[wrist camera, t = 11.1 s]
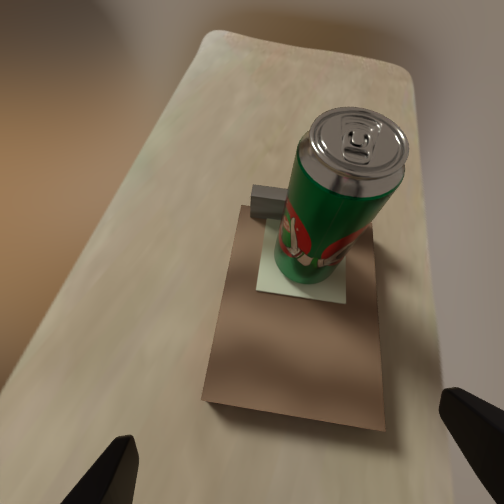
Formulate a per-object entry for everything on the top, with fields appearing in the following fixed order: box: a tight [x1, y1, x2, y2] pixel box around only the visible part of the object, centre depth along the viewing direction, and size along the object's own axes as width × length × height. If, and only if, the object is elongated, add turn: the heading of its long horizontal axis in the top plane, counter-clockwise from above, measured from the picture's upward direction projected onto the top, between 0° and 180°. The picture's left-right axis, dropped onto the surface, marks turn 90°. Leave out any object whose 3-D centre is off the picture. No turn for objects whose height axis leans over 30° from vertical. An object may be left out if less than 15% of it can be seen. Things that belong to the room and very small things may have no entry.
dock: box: [201, 184, 386, 432], centre depth 21 cm, size 16×12×5 cm
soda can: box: [274, 107, 409, 284], centre depth 17 cm, size 5×5×12 cm
